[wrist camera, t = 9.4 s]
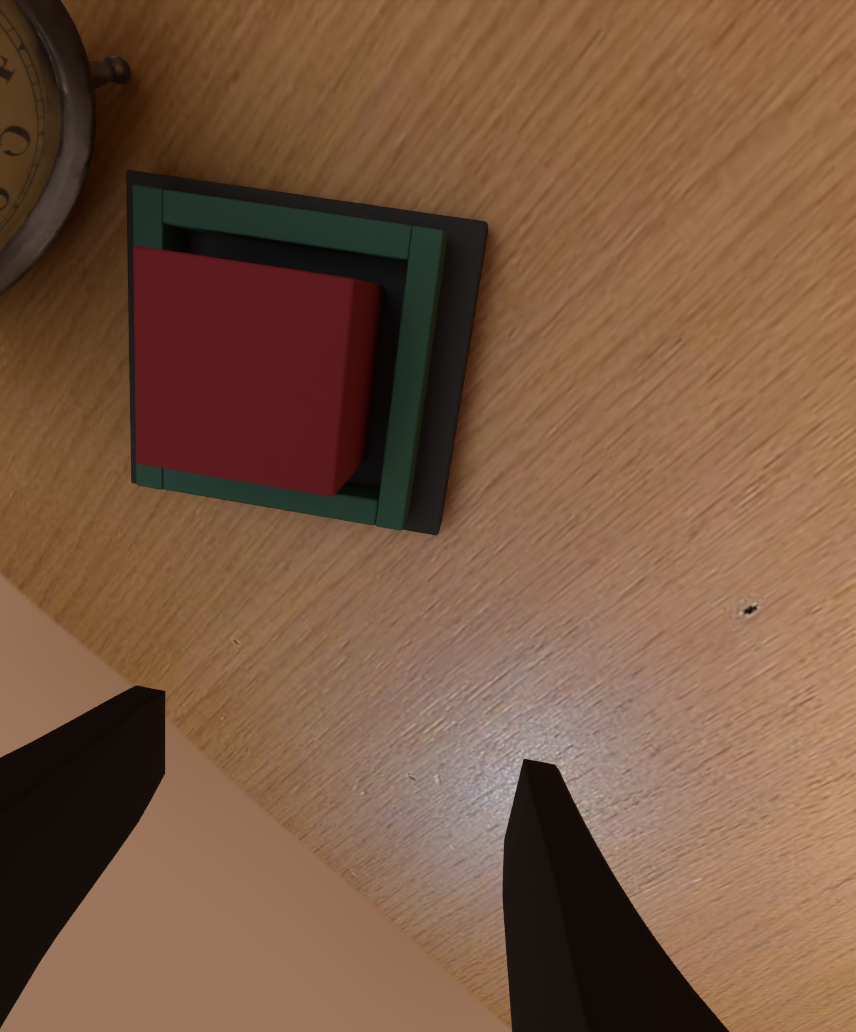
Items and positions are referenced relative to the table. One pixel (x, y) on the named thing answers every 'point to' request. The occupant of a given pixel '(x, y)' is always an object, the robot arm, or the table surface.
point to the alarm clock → (43, 127)
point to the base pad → (403, 335)
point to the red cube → (253, 370)
